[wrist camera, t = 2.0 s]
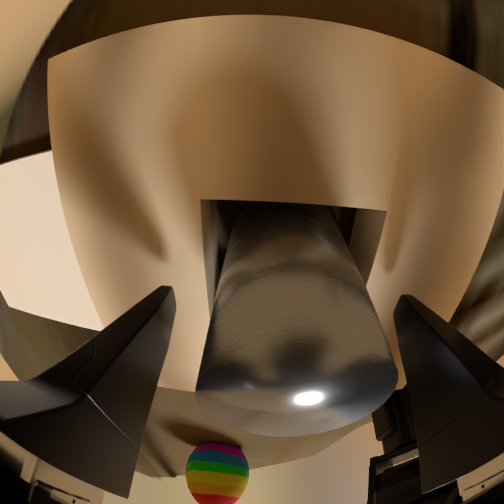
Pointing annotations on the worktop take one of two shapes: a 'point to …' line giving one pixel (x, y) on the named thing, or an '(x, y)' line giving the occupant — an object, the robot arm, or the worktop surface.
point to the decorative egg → (217, 473)
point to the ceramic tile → (39, 246)
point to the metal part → (292, 328)
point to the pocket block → (270, 159)
